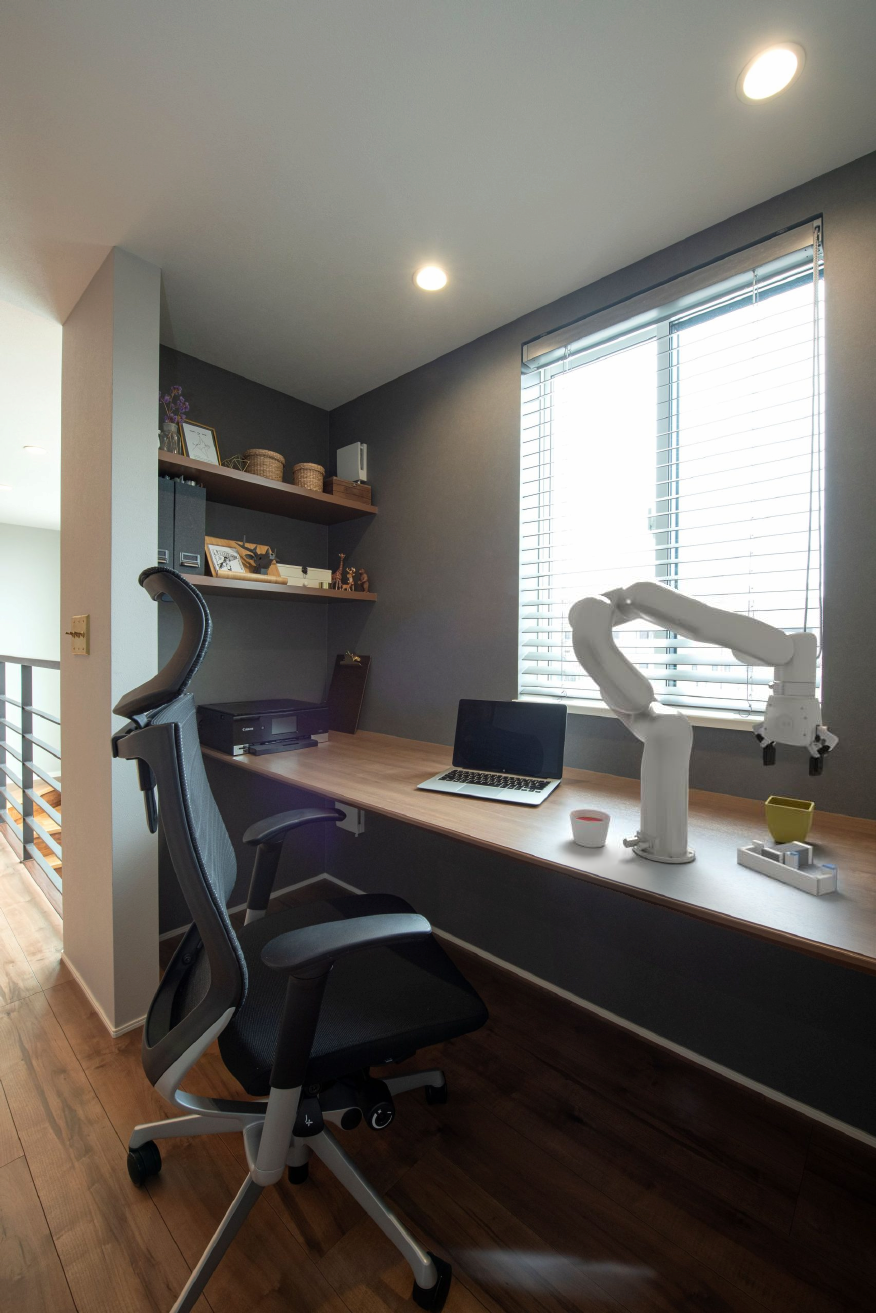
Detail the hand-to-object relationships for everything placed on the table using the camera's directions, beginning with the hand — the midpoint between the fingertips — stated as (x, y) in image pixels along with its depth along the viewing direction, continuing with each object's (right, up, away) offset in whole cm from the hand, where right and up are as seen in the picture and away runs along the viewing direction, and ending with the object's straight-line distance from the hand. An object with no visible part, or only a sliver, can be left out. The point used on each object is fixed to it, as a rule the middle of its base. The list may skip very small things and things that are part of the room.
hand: (791, 770), depth 116 cm
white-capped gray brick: (-3, -19, -4) cm, 19 cm away
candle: (-41, -18, +8) cm, 46 cm away
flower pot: (+5, -19, +9) cm, 21 cm away
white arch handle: (-8, -19, -9) cm, 22 cm away
